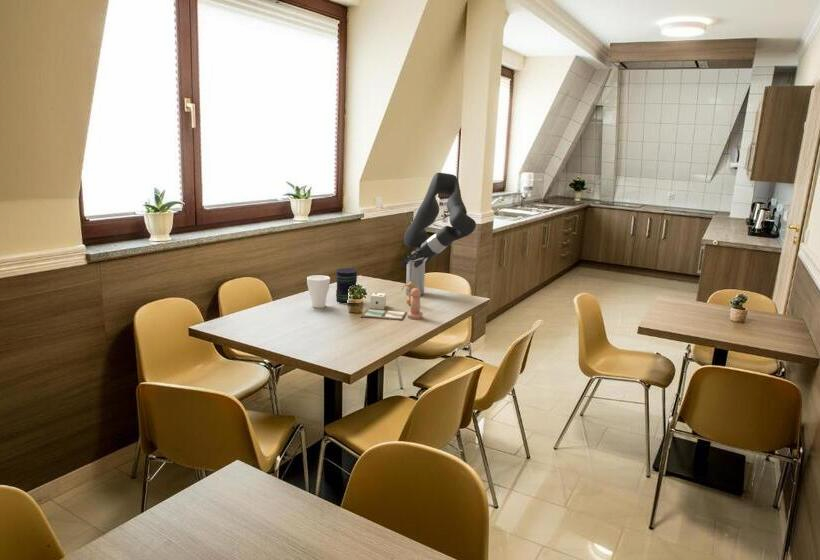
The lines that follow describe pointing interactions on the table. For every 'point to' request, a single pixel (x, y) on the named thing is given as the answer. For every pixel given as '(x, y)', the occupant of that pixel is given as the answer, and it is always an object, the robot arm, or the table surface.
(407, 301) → the figurine
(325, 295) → the cup
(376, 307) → the die
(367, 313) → the game board
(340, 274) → the storage jar
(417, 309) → the pawn
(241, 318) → the table surface
